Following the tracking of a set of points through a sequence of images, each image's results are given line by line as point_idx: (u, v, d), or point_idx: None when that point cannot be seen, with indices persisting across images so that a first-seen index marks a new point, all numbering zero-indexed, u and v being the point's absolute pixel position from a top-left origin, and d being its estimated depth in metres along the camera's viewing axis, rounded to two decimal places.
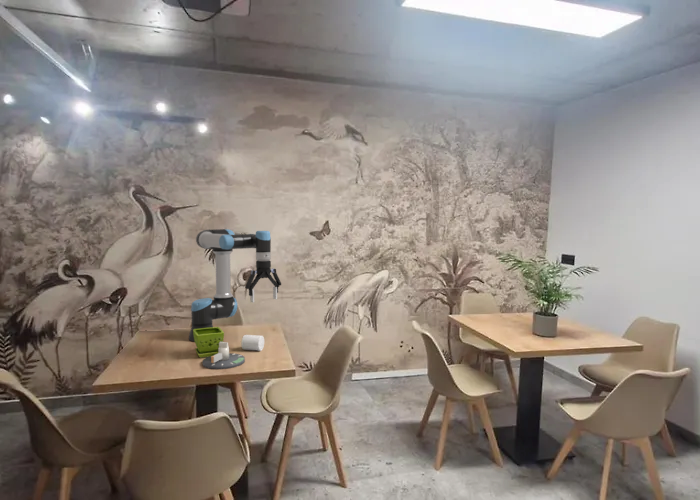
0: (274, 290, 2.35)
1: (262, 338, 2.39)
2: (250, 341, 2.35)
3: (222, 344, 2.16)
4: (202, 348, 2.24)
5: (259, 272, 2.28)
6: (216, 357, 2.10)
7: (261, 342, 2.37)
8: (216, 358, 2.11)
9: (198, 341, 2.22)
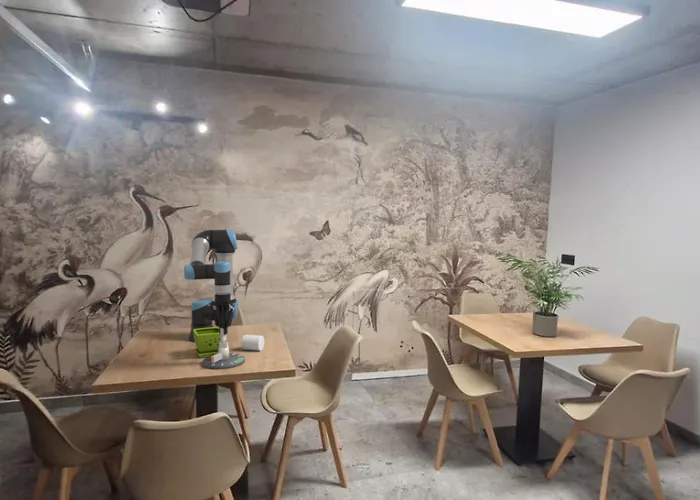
0: None
1: (262, 338, 2.39)
2: (250, 341, 2.35)
3: (222, 344, 2.16)
4: (202, 348, 2.24)
5: (216, 305, 2.15)
6: (216, 357, 2.10)
7: (261, 342, 2.37)
8: (216, 358, 2.11)
9: (198, 341, 2.22)
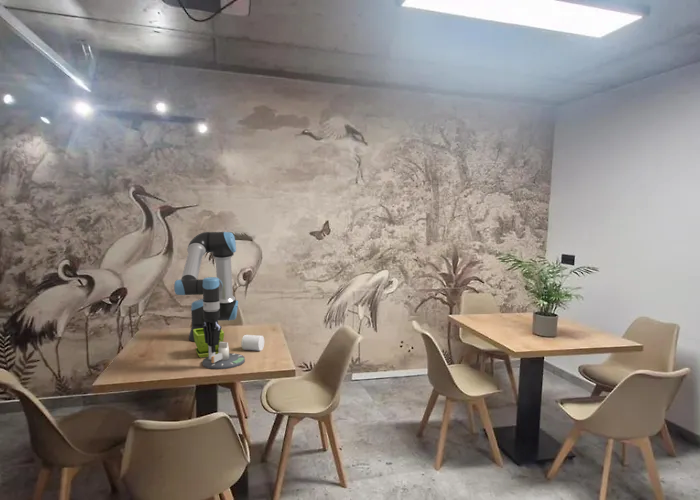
0: None
1: (262, 338, 2.39)
2: (250, 341, 2.35)
3: (222, 344, 2.16)
4: (202, 348, 2.24)
5: (206, 322, 2.11)
6: (216, 357, 2.10)
7: (261, 342, 2.37)
8: (217, 358, 2.11)
9: (198, 341, 2.22)
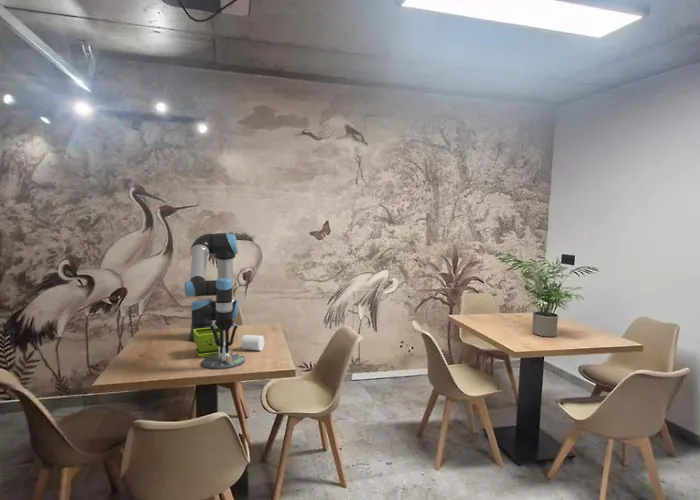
0: None
1: (262, 338, 2.39)
2: (250, 341, 2.35)
3: None
4: (202, 348, 2.24)
5: (217, 323, 2.08)
6: None
7: (261, 342, 2.37)
8: None
9: (198, 341, 2.22)
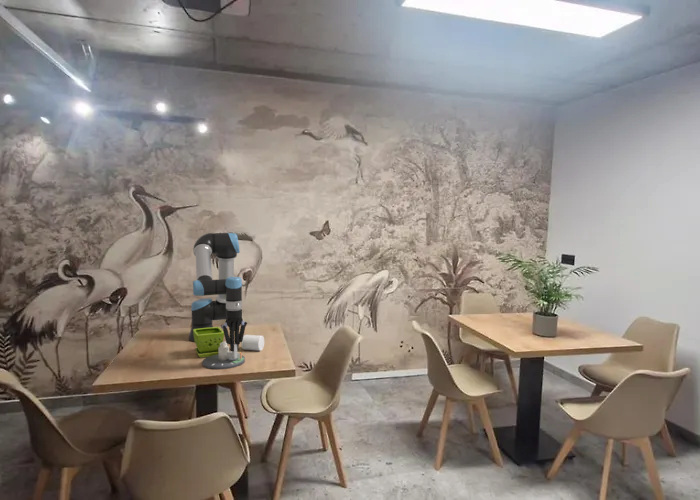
0: None
1: (262, 338, 2.39)
2: (250, 341, 2.35)
3: (224, 344, 2.16)
4: (202, 348, 2.24)
5: (229, 322, 2.10)
6: None
7: (261, 342, 2.37)
8: None
9: (198, 341, 2.22)
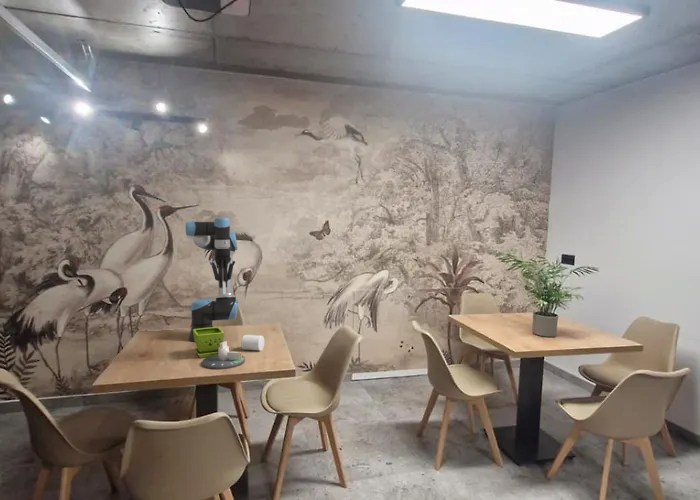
0: None
1: (262, 338, 2.39)
2: (250, 341, 2.35)
3: (224, 344, 2.16)
4: (202, 348, 2.24)
5: (218, 260, 2.22)
6: None
7: (261, 342, 2.37)
8: None
9: (198, 341, 2.22)
